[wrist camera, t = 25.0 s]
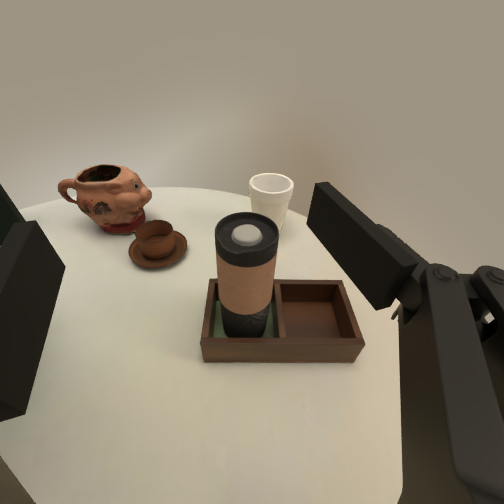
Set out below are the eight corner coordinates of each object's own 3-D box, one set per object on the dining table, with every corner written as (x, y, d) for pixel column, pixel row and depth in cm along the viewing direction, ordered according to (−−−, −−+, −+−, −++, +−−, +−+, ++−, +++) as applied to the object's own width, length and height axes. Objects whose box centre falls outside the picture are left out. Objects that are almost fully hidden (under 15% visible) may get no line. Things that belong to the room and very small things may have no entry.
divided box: (211, 298, 48) (209, 278, 44) (334, 299, 49) (342, 279, 45) (203, 362, 39) (200, 343, 35) (353, 362, 40) (365, 344, 36)
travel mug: (258, 302, 47) (267, 207, 33) (273, 339, 41) (291, 244, 28) (217, 311, 45) (208, 215, 31) (227, 352, 39) (221, 257, 26)
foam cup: (285, 245, 60) (293, 195, 51) (246, 241, 60) (247, 191, 52) (285, 221, 67) (292, 174, 58) (250, 218, 67) (251, 171, 59)
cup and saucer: (123, 248, 57) (114, 225, 53) (174, 229, 63) (169, 208, 59) (142, 281, 50) (134, 258, 46) (197, 257, 56) (194, 235, 52)
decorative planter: (64, 242, 58) (30, 186, 49) (84, 212, 67) (59, 160, 58) (155, 238, 60) (140, 184, 51) (163, 210, 69) (151, 158, 60)
